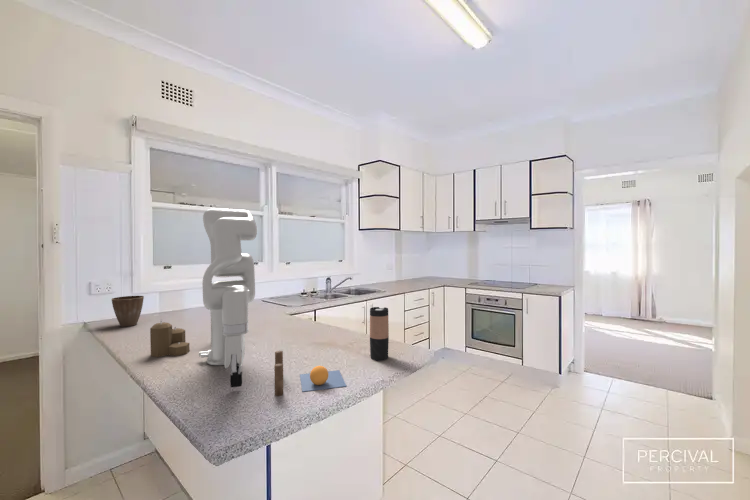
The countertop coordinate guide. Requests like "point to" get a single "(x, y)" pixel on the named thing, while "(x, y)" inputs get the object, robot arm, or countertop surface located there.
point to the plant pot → (127, 309)
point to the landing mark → (332, 382)
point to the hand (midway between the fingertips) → (236, 385)
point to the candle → (167, 340)
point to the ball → (319, 375)
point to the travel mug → (379, 333)
